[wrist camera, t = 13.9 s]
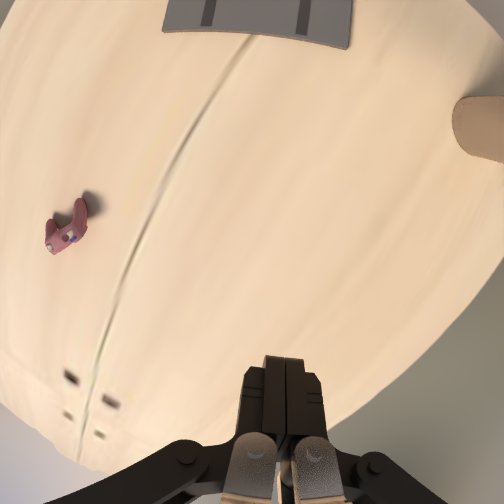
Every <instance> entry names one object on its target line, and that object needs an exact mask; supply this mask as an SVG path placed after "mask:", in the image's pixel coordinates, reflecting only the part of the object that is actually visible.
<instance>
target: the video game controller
mask: <svg viewBox="0 0 504 504" xmlns="http://www.w3.org/2000/svg"><path fill="white" fill-rule="evenodd" d="M86 230H87V208H86V204H85V202H84V200H83V199H82V198H78V199H76V201H75V204H74V214H73V220H72V222H71V223H70V224H68V225H66V226H65V227H64V228H62V229H59V230H57V226H56V223H55V221H54V220H53V219H49V220H48V221H47V223H46V238H45V245H46V247H47V249H48V250H49V251H50V252H51V253H52V254H53V255H55V254H57V253H58V252H61V251H62V250H63V249H65V248H66V247H68V246H69V245H70V244H72V243H73V242H74V243H76V242H78V241H79V240H80V239H81V238H82V237H83V236H84V234H85V232H86Z"/></svg>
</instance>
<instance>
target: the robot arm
mask: <svg viewBox="0 0 504 504" xmlns="http://www.w3.org/2000/svg"><path fill="white" fill-rule="evenodd" d="M452 123H453V130H454V134H455V137H456V139H457V141H458V143H459V145H460V146H461V147H462V148H463V150H464V151H466V152H467V153H468V154H471V155H473V156H477V157H482V158H486V159H489V160H493V161H497V162H500V163H504V96H479V97H466V98H463V99H461V100H460V101H459V102H458V103H457V104H456V106H455V109H454V112H453V120H452ZM276 462H281V464H280V466H281V467H280V473H279V474H278V477H277V486H278V501H279V504H448V503H446V502H445V501H443V500H442V499H441V498H439V497H438V496H437V495H435V494H434V493H433V492H431V491H430V490H429V489H427V488H426V487H425V486H424V485H422V484H421V483H419V482H418V481H417V480H416V479H414V478H413V477H412V476H411V475H410V474H408V473H407V472H406V471H405V470H403V469H402V468H401V467H400V466H398V465H397V464H396V463H394V462H393V461H392V460H391V459H390V458H389V457H387V456H386V455H385V454H382V453H380V452H369V453H366V454H364V455H363V456H362V457H360V456H356V455H351V454H348V453H344V452H341V451H339V450H337V449H336V448H334V446H333V445H332V444H331V443H330V441H329V439H328V436H327V429H326V421H325V412H324V404H323V397H322V389H321V383H320V381H319V380H318V378H317V376H316V375H315V373H308V372H305V368H304V360H303V359H296V358H286V357H285V358H284V357H277V356H269V355H265V358H264V362H263V366H262V368H260V367H253V366H251V367H250V368H249V369H248V371H247V372H246V373H245V375H244V379H243V384H242V389H241V395H240V401H239V409H238V416H237V424H236V431H235V435H234V437H233V438H232V439H231V440H229V441H228V442H226V443H223V444H220V445H214V446H204V447H203V446H202V445H201V444H199V443H197V442H195V441H192V440H177V441H174V442H172V443H170V444H169V445H167V446H165V447H164V448H162V449H160V450H159V451H157V452H155V453H153V454H151V455H150V456H148V457H146V458H144V459H142V460H141V461H139V462H137V463H135V464H133V465H131V466H129V467H127V468H125V469H123V470H121V471H119V472H117V473H115V474H113V475H111V476H109V477H107V478H105V479H103V480H101V481H99V482H96V483H94V484H92V485H90V486H87V487H85V488H83V489H80V490H78V491H76V492H73V493H71V494H69V495H66V496H63V497H61V498H58V499H56V500H53V501H50V502H47V503H44V504H190V503H191V502H193V501H194V500H196V499H197V498H199V497H200V496H202V495H206V494H216V493H222V497H221V501H220V504H271V498H272V492H273V484H274V477H275V469H276Z"/></svg>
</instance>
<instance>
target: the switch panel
mask: <svg viewBox="0 0 504 504" xmlns="http://www.w3.org/2000/svg"><path fill="white" fill-rule="evenodd" d="M351 4H352V0H169V2H168V6H167V10H166V14H165V18H164V22H163V27H162V32H164V33H172V32H230V33H246V34H257V35H266V36H275V37H282V38H289V39H295V40H301V41H306V42H311V43H316V44H321V45H326V46H330V47H334V48H338V49H342V50H346V49H347V47H348V38H349V28H350V16H351Z"/></svg>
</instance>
